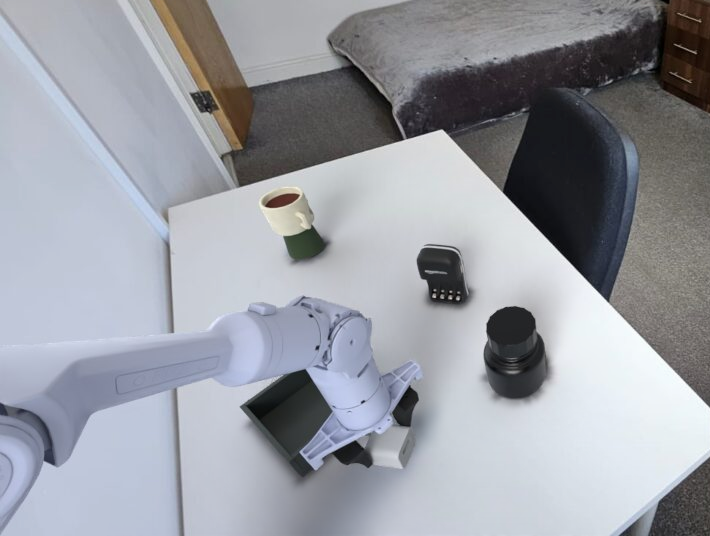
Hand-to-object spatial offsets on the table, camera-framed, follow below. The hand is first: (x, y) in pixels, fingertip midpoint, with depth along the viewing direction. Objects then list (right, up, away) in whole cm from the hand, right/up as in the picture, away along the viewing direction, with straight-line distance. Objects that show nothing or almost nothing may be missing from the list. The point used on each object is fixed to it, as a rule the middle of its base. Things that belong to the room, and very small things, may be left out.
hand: (385, 443), depth 60 cm
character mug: (-28, +23, +32) cm, 49 cm away
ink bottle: (+15, +5, +12) cm, 20 cm away
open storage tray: (-12, +1, +6) cm, 14 cm away
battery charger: (+1, +15, +23) cm, 28 cm away
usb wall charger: (0, -1, +1) cm, 2 cm away
